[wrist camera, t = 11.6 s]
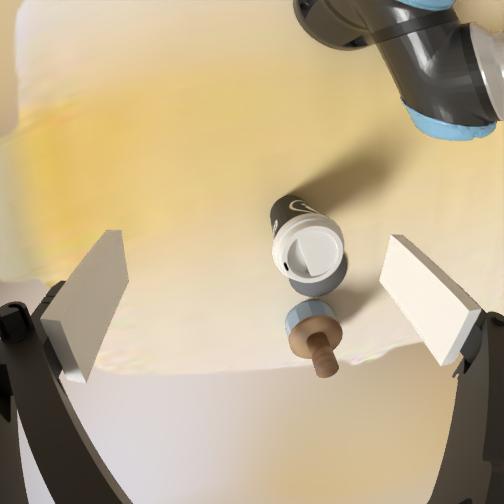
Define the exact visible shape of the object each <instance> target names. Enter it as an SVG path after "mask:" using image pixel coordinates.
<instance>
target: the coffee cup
mask: <svg viewBox="0 0 504 504" xmlns="http://www.w3.org/2000/svg"><path fill="white" fill-rule="evenodd" d="M270 218H271V224H272V230H273V237H274V242H273V247H272V254H273V259H274V262H275V264H276V266H277V267H278V269H279V270H280V271H281V272H282V273H283V274H284V275H286V276H287V277H289V278H291V279H293V280H296V281H299V282H303V283H314V282H318V281H321V280H323V279H325V278H327V277H329V276H330V275H331V274H332V273H333V272H334V271H335V270H336V269H337V268H338V266H339V264H340V262H341V260H342V256H343V252H344V238H343V234H342V231H341V229H340V227H339V226H338V224H337V223H336V222H335V221H334V220H332V219H331V218H329V217H327V216H325V215H322V214H319V213H318V212H317V211H316V210H314V209H313V208H312V207H311V206H309V205H308V204H307V203H306V202H304V201H303V200H302V199H300V198H298V197H296V196H285V197H283V198H281V199H279V200H278V201H276V202H275V204H274V205H273V207H272V209H271V213H270Z"/></svg>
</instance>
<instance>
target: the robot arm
mask: <svg viewBox="0 0 504 504" xmlns="http://www.w3.org/2000/svg"><path fill="white" fill-rule="evenodd" d="M455 1H456V0H293V7H294V12H295V15H296V17H297V20H298V21H299V23H300V25H301V26H302V27H303V29H304V30H305V31H306V32H307V33H308V34H309V35H310V36H311V37H312V38H314V39H315V40H317V41H318V42H320V43H321V44H323V45H326V46H328V47H330V48H334V49H337V50H344V51H352V50H358V49H362V48H364V47H367V46H369V45H371V44H373V43H376V46H377V48H378V49H379V51H380V53H381V55H382V57H383V59H384V61H385V63H386V65H387V67H388V69H389V71H390V73H391V75H392V77H393V79H394V82H395V84H396V86H397V88H398V90H399V93H400V95H401V97H400V98H401V101H402V103H403V104H404V106H405V107H406V108H407V110H408V113H409V115H410V117H411V119H412V121H413V123H414V125H415V126H416V127H417V128H418V129H419V130H421V132H423V133H424V134H426V135H428V136H431V137H434V138H437V139H442V140H449V141H468V140H473V138H474V137H477V138H482V137H485V136H487V135H489V134H491V133H492V132H493V131H494V129H495V128H496V123H497V121H504V31H503V32H495V33H494V32H490V31H488V30H487V29H485V28H484V27H482V26H481V25H479V24H477V23H475V22H471V23H466V24H461V23H460V21H459V19H458V17H457V15H456V13H455V11H454V9H453V7H452V5H453V4H454V2H455ZM128 282H129V279H128V273H127V267H126V260H125V253H124V246H123V238H122V230H106V232H105V233H104V234H103V235H102V236H101V237H100V239H99V240H98V241H97V242H96V244H95V245H94V246H93V247H92V248H91V250H90V251H89V252H88V253H87V255H86V256H85V257H84V259H83V260H82V261H81V262H80V264H79V265H78V266H77V268H76V269H75V270H74V271H73V273H72V274H71V275H70V277H69V278H68V279H67V281H60V282H59V283H57V284H56V285H54V286H53V287H52V288H51V289H50V290H49V292H48V293H47V294H46V297H44V298H43V300H42V301H41V303H40V304H39V305H38V307H37V308H36V309H35V311H34V312H33V314H32V315H31V316H30V314H29V312H28V309H27V307H26V305H25V304H24V303H22V302H10V303H7V304H5V305H3V306H1V307H0V338H1V339H0V504H29V503H28V498H27V493H26V488H25V483H24V477H23V471H22V464H21V456H20V448H19V437H18V422H17V410H18V413H19V416H20V420H21V423H22V426H23V429H24V432H25V435H26V438H27V440H28V443H29V446H30V448H31V451H32V454H33V456H34V459H35V461H36V464H37V466H38V468H39V470H40V473H41V475H42V477H43V479H44V481H45V484H46V486H47V488H48V490H49V492H50V494H51V496H52V498H53V500H54V502H55V504H133V503H132V502H131V500H130V499H129V498H128V497H127V495H126V494H125V493H124V491H123V490H122V489H121V487H120V485H119V484H118V483H117V481H116V480H115V478H114V477H113V475H112V474H111V473H110V471H109V470H108V468H107V466H106V465H105V463H104V462H103V460H102V459H101V457H100V455H99V454H98V452H97V450H96V449H95V447H94V445H93V444H92V442H91V440H90V439H89V437H88V435H87V433H86V431H85V430H84V428H83V426H82V424H81V422H80V420H79V418H78V416H77V414H76V412H75V411H74V409H73V407H72V405H71V403H70V401H69V398H68V396H67V394H66V392H65V390H64V387H63V385H62V383H61V381H60V379H59V375H60V373H61V371H62V369H63V371H64V374H65V375H66V377H67V379H68V380H70V381H76V382H82V383H87V380H88V377H89V375H90V372H91V369H92V367H93V364H94V362H95V359H96V356H97V354H98V351H99V349H100V346H101V344H102V341H103V339H104V336H105V334H106V332H107V329H108V327H109V325H110V322H111V320H112V318H113V315H114V313H115V311H116V308H117V306H118V304H119V302H120V299H121V297H122V295H123V293H124V291H125V289H126V286H127V284H128ZM379 282H380V283H381V284H382V285H383V287H384V288H385V289H386V291H387V292H388V293H389V295H390V296H391V297H392V298H393V300H394V301H395V302H396V304H397V305H398V306H399V308H400V309H401V310H402V312H403V313H404V315H405V316H406V317H407V319H408V320H409V321H410V323H411V324H412V326H413V327H414V328H415V330H416V331H417V333H418V334H419V335H420V337H421V338H422V340H423V341H424V342H425V344H426V345H427V347H428V348H429V350H430V351H431V353H432V354H433V356H434V357H435V359H436V360H437V361H438V363H439V364H440V366H443V365H447V364H451V363H454V361H455V359H456V357H457V356H458V354H459V352H461V353H462V355H463V356H464V357H463V359H462V361H461V362H460V364H459V366H458V367H457V369H456V370H455V372H454V374H453V376H452V377H453V378H454V377H455V376H456V374H458V373H459V376H458V386H457V392H456V399H455V405H454V411H453V416H452V422H451V427H450V431H449V436H448V440H447V444H446V448H445V453H444V457H443V460H442V464H441V467H440V471H439V474H438V477H437V480H436V484H435V487H434V490H433V493H432V496H431V498H430V500H429V501H428V503H427V504H504V316H503V315H501V314H499V313H497V312H488V313H486V312H485V311H484V310H483V309H482V308H481V307H480V306H479V305H478V304H477V303H476V302H475V301H474V300H473V299H472V298H471V297H470V296H469V295H468V294H467V293H466V292H465V291H464V290H463V289H462V288H461V287H460V286H459V285H458V284H457V283H456V282H454V281H453V280H452V279H451V278H450V277H449V276H448V275H447V274H446V273H445V272H444V271H443V270H442V269H441V268H440V267H439V266H437V265H436V264H435V263H434V262H433V261H432V260H431V259H430V258H429V257H428V256H426V255H425V254H424V253H423V252H422V251H421V250H420V249H419V248H417V247H416V246H415V245H414V244H413V243H412V242H410V241H409V240H408V239H407V238H406V237H405V236H403V235H391V237H390V241H389V245H388V249H387V253H386V257H385V261H384V265H383V268H382V272H381V276H380V279H379Z"/></svg>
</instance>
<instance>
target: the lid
mask: <svg viewBox="0 0 504 504" xmlns="http://www.w3.org/2000/svg"><path fill="white" fill-rule="evenodd" d="M342 334H343V332H342V328H341V326H340V324H339V322H338V321H337V320H336V319H335V318H333V317H331V316H328V315H314V316H311V317H308V318H306V319H304V320H302V321H300V322H299V323H298V324H297V325H296V326H295V327H294V328H293V329H292V331H291V333H290V335H289V344H290V348H291V350H292V352H293V353H294V354H295V355H297V356H299V357H301V358H306V359H312V361H313V364H314V367H315V371H316V374H317V375H318V376H319V377H321V378H327V377H330V376H332V375H334V374H335V373H336V372H337V371H338V369H339V366H338V364H337V361H336V358H335V356H334V353H333V350H334V349H335V348H336V347H337V346H338V344H339V343H340V341H341V339H342Z"/></svg>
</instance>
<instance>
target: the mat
mask: <svg viewBox="0 0 504 504" xmlns="http://www.w3.org/2000/svg"><path fill="white" fill-rule="evenodd" d="M346 269H347V263H346V259H345V256H344V255H343V256H342V260H341V262H340V264H339V266H338V268H337V269H336V270H335V271H334V272H333V273H332V274H331V275H330V276H329V277H327V278H325V279H323V280H321V281H318V282H314V283H303V282H299V281H296V280H293V279H291V278H289V281H290V283H291V285H292V287H293V288H294V289H295V290H296V291H297V292H298V293H300V294H302V295H305V296H309V297H316V296H322V295H325V294H327V293H329V292H331V291H332V290H334V289H335V288H336V287H337V286H338V285H339V284H340V283H341V282H342V280H343V278H344V276H345V273H346Z"/></svg>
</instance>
